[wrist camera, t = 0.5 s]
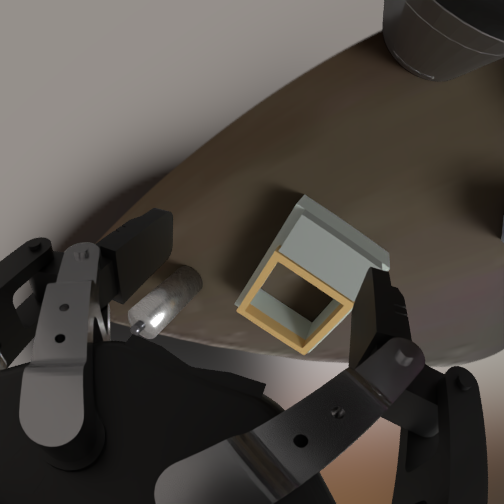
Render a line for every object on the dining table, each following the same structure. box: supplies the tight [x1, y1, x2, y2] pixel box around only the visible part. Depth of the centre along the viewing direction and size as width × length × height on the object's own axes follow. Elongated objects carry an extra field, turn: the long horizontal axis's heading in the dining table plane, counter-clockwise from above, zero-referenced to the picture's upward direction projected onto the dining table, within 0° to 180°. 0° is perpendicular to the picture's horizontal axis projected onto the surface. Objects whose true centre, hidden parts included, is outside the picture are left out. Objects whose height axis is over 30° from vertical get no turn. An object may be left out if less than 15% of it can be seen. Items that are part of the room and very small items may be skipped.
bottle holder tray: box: [235, 195, 390, 355], centre depth 32 cm, size 15×11×5 cm
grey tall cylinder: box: [128, 266, 203, 339], centre depth 37 cm, size 4×4×12 cm
